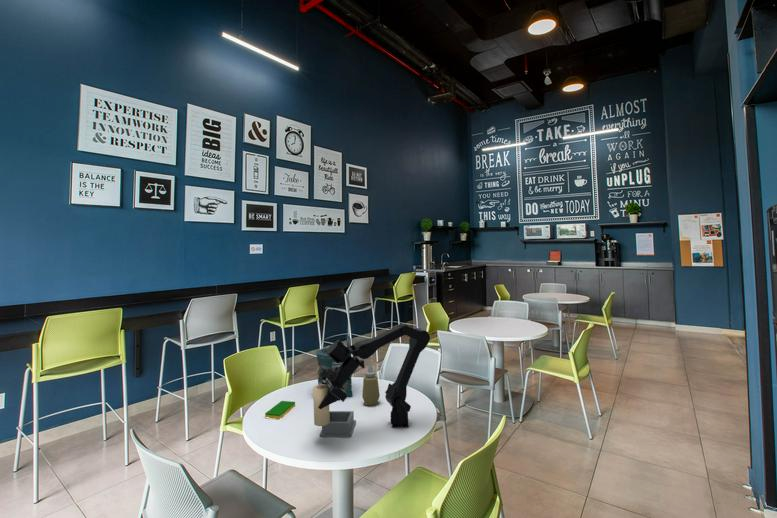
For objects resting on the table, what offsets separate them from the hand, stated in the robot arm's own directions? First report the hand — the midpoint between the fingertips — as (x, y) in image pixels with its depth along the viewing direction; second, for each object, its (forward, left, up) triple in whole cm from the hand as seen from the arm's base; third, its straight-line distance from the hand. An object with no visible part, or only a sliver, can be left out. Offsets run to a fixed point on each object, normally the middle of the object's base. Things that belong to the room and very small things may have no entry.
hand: (317, 405), depth 131 cm
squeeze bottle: (-15, -35, -14) cm, 40 cm away
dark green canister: (+5, -48, -14) cm, 50 cm away
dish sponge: (+24, -26, -14) cm, 38 cm away
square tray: (-5, -10, -13) cm, 17 cm away
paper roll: (-1, -1, -7) cm, 7 cm away
